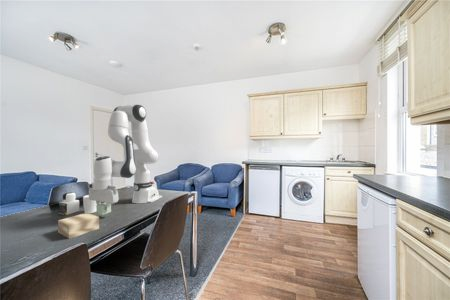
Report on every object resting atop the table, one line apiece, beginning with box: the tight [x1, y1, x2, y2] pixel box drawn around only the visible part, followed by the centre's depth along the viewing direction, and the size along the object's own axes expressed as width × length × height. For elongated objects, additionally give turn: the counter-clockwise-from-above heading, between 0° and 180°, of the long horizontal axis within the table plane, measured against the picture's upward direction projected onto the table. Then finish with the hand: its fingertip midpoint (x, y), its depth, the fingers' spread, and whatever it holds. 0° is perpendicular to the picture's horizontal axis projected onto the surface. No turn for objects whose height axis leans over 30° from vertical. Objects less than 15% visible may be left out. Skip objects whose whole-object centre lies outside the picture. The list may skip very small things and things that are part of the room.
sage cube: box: [95, 202, 112, 216], centre depth 104 cm, size 5×5×5 cm
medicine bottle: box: [58, 192, 80, 216], centre depth 113 cm, size 7×7×12 cm
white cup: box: [82, 194, 97, 214], centre depth 114 cm, size 8×8×10 cm
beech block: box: [57, 212, 100, 239], centre depth 88 cm, size 12×12×6 cm
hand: (103, 209), depth 104 cm, fingers closed on sage cube, 5 cm apart
